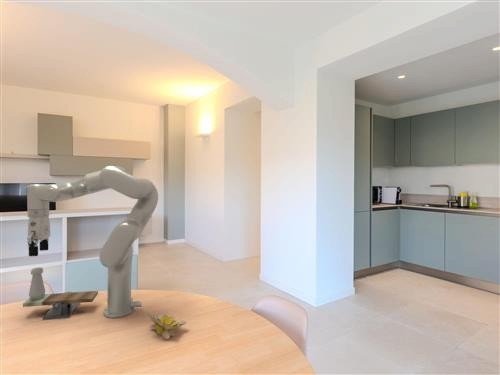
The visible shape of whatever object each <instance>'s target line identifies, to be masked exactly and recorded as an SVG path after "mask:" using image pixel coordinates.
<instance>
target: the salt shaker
mask: <svg viewBox="0 0 500 375" xmlns="http://www.w3.org/2000/svg"><path fill="white" fill-rule="evenodd" d="M43 273H44V269H43V267H33V268H32V269H31V270H30V274H31V276H32V277H31V281H30V286H29V292H28V296H29V298H31V300H40V299H42V298H43V297H44V295H45V294H46V289H45V284H44V279H43V275H42V274H43Z"/></svg>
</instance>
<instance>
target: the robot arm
mask: <svg viewBox="0 0 500 375" xmlns="http://www.w3.org/2000/svg"><path fill="white" fill-rule="evenodd" d="M109 189H111V190H113V191H116V192H117V193H119V194H122V195H124V196H125V197H128V198H130V199H134V200H137V201H136V203H135V204H134V205H133V207H132V208H131V211H130V212H129V214H128V215H127V217H126V218H125V219H124V220H123V221H121V222H119V223H118V224H117V225H115V227H114V228H113V229H112V231H111V232H110V234H109V236H108V237H107V239H106V241H105V243H104V244H103V246H102V247H101V250H100V252H99V257H98V258H99V262H100V264H101V265H102V266H103V267H105V268H107V307H105V308H104V309H103V314H102V315H103V316H104V317H106V318H112V319H113V318H114V319H115V318H116V319H117V318H121V317H126V316H129V315H131V314H132V313H133V312H134V311H135V309H136V308H142V304H143V302H142V301H140V300H134V299H133V297H132V264H133V263H132V262H133V256H134V254H133V253H134V250H133V244H134V242H135V241H137V240H138V239H139V238H140V237H141V236H142V234H143V232H144V230H145V229H146V226H147V225H148V223H149V222H150V220H151V217H152V216H153V213H154V212H155V210H156V208H157V206H158V201H159V192H158V190H157V188H156V185H155V184H154V183H153V182H152V181H151V180H150V179H148V178H147V179H146V178H138V177H136V176H134V175H131V174H129V173H128V172H127V170H126V169H125V168H124V167H122V166H119V165H108V166H105V167H104V168H102V169H101V170H97V171H93V172H91V173H90V172H89V173H86V174H85V175H84V177H83V178H80V179H78V180H73V181H70V182H66V183H52V184H49V183H48V184H47V183H32V184H31V183H30V184H29V185H27V191H26V193H27V202H26V203H27V206H26V207H27V211H26V212H27V218H28V225H27V237H26V239H27V244H28V245H27V246H28V257H38V256H39V251H48V250H49V240H50V239H49V238H50V237H51V225H50V224H51V222H50V202H51V203H52V202H53V203H57V202H62V201H68V200H72V199H76V198H80V197H83V196H86V195H93V194H95V193H98V192H101V191H105V190H109ZM38 244H39V246H38Z"/></svg>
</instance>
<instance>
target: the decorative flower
mask: <svg viewBox="0 0 500 375" xmlns="http://www.w3.org/2000/svg"><path fill="white" fill-rule="evenodd" d="M146 315H147V316H148V318H149V319H150V321H151V322H152V323H153V324H151V325H150V326H149V328H150V329H152V330H155V329H156V333H157V334H159V335H162V337H163V338H164V339H166V340H167V339H169V338H170V337H174V329H177V328H179V327H183V326H184V325H186V324H188V322H187V321H186V320H177V319H176V316H174V315H167V314H165V315H163V314H161V313H160V314H156V315H154V314H151V313H150V312H147V313H146Z"/></svg>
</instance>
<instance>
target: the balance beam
mask: <svg viewBox="0 0 500 375" xmlns="http://www.w3.org/2000/svg"><path fill="white" fill-rule="evenodd" d="M70 292H71V293H65V292H63V293H62V292H60V293H59V292H58V293H45V295H44V297H43V298H42V299H40V300H31V298H30V297H29V298H28V299H27V300H25V301H24V302H23V303H22V307H23V308H27V307H28V308H29V307H39V306H40V307H42V306H53V303H58V302H62V304H72V303H80V304H82V303H93V302H94V300H95V299H96V297H97V296H98V295H99V291H98V290H90V291H89V290H88V291H77V292H76V291H75V292H73V291H70Z"/></svg>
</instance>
